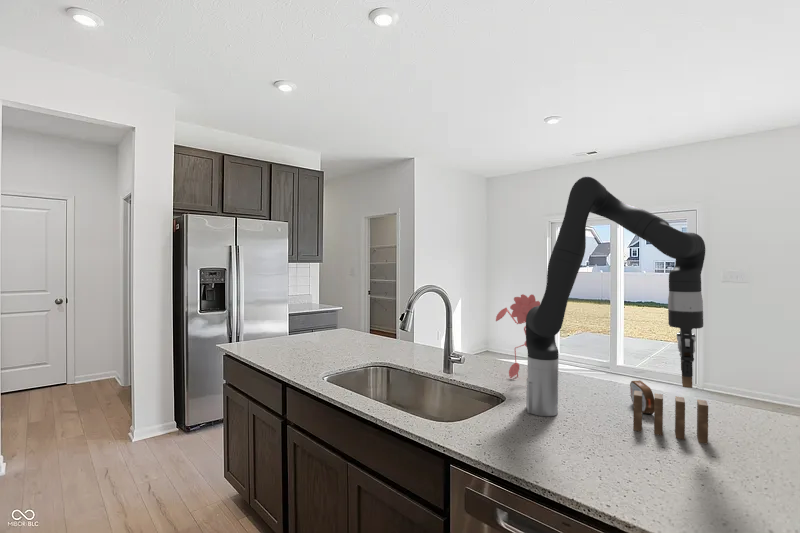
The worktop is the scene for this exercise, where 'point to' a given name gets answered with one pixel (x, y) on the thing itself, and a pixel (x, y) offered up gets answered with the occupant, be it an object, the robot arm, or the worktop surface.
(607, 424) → the worktop surface
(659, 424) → the tile
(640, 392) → the tile
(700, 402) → the tile
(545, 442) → the worktop surface
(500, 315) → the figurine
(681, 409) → the tile
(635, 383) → the tin
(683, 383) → the end tile
